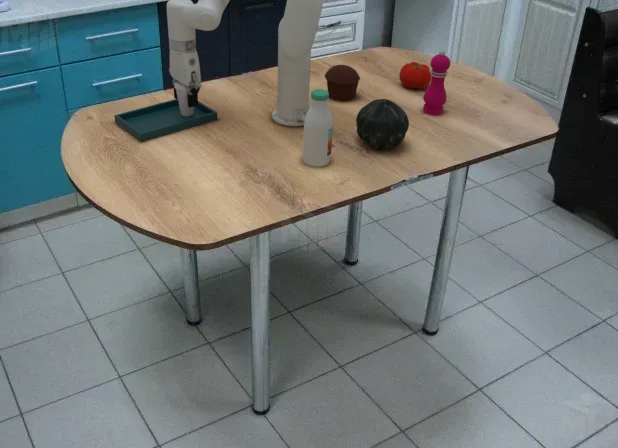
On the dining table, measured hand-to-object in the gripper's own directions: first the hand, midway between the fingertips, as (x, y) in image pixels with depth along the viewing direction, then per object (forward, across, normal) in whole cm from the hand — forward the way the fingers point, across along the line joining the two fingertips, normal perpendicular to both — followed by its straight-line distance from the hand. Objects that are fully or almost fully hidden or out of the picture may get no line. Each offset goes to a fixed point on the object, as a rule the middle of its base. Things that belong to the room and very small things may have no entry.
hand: (186, 101), depth 201 cm
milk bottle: (+5, -45, -13) cm, 47 cm away
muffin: (+5, -16, -49) cm, 52 cm away
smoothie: (+4, 0, 0) cm, 4 cm away
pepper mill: (+5, -42, -65) cm, 78 cm away
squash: (+5, -48, -35) cm, 60 cm away
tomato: (+5, -24, -76) cm, 80 cm away
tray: (+5, 0, +7) cm, 8 cm away
